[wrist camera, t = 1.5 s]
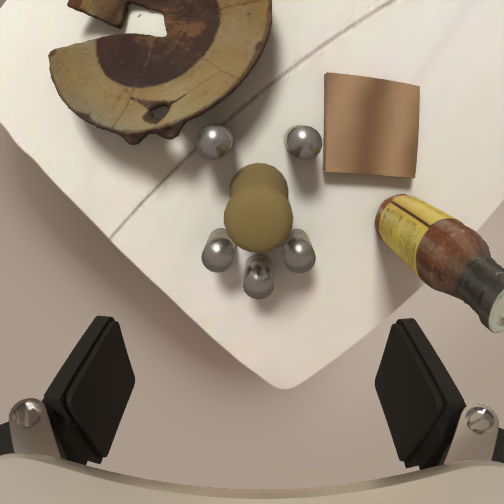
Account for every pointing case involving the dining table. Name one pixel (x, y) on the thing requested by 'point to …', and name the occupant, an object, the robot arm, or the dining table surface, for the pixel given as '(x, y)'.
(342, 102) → the walnut board
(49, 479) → the robot arm
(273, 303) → the dining table surface
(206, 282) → the dining table surface
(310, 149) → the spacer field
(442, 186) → the dining table surface
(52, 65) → the broken ceramic bowl
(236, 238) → the olive pawn
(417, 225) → the sauce bottle
